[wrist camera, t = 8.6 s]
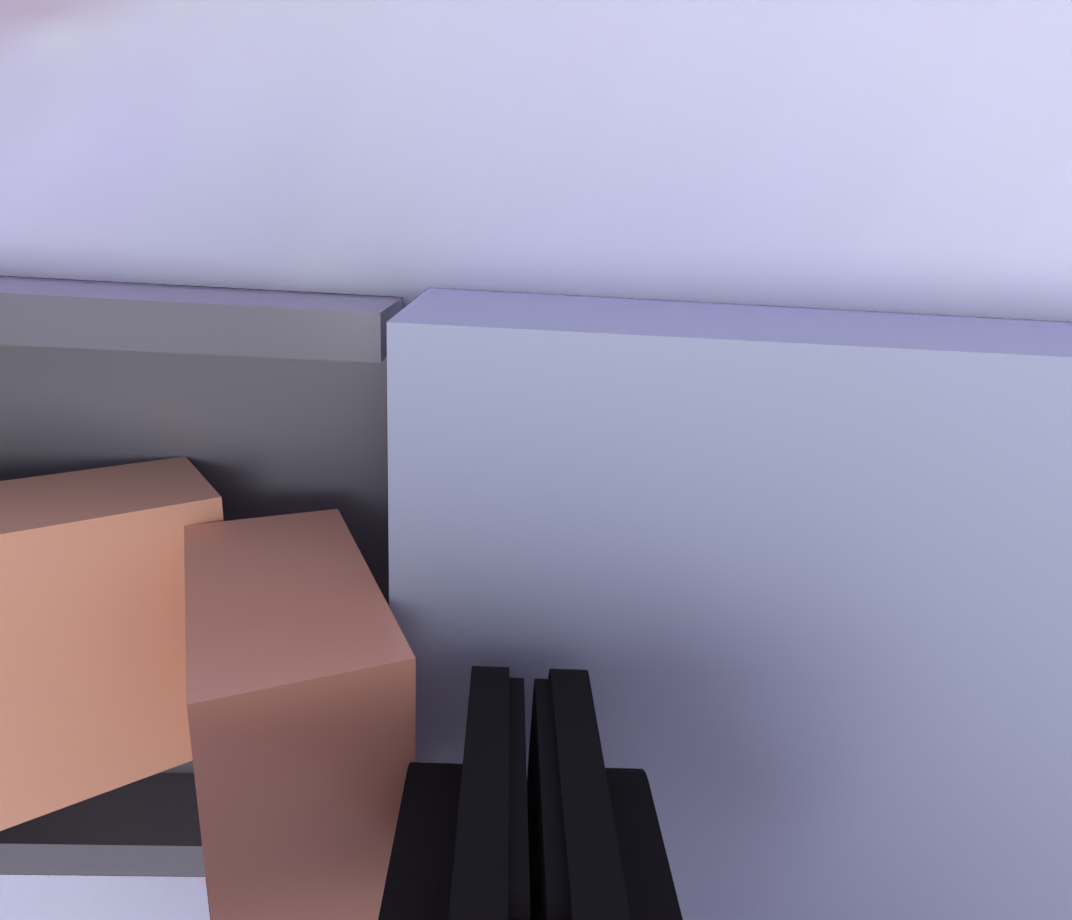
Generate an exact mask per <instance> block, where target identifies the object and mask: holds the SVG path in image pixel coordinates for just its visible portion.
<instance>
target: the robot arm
mask: <svg viewBox="0 0 1072 920" xmlns="http://www.w3.org/2000/svg"><path fill="white" fill-rule="evenodd" d="M378 920H683V918H682V914H681V910H680V906H679V902H678V898H677V894H676V890H675V886H674V882H673V878H672V874H671V870H670V866H669V862H668V858H667V854H666V849H665V845H664V841H663V837H662V833H661V829H660V825H659V821H658V817H657V813H656V809H655V805H654V801H653V797H652V793H651V789H650V785H649V781H648V778H647V775H646V772H645V771H644V770H643V769H635V768H605V765H604V759H603V753H602V747H601V741H600V736H599V730H598V724H597V718H596V712H595V707H594V701H593V695H592V689H591V684H590V678H589V673H588V670H581V669H553V668H550V669H549V674H548V679H539V678H535V679H534V688H533V702H532V716H531V729H530V743H529V757H528V771H527V769H526V731H525V693H524V678H509V667H494V666H472V668H471V679H470V690H469V701H468V711H467V722H466V733H465V744H464V755H463V764H455V763H420V762H410V763H409V766H408V769H407V773H406V778H405V783H404V789H403V794H402V799H401V804H400V809H399V814H398V820H397V825H396V830H395V835H394V840H393V845H392V851H391V856H390V861H389V866H388V871H387V876H386V882H385V887H384V892H383V897H382V902H381V907H380V913H379V918H378Z"/></svg>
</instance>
